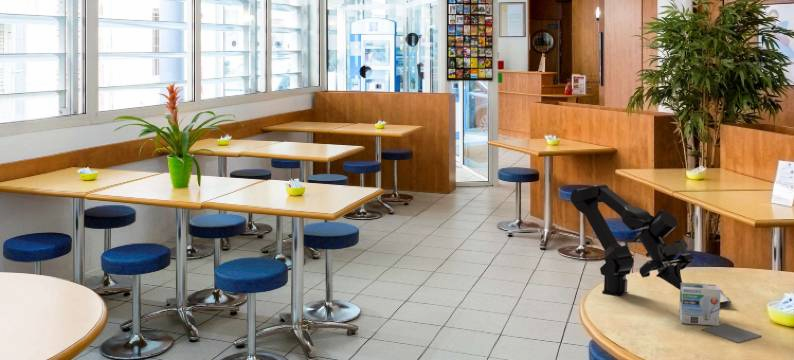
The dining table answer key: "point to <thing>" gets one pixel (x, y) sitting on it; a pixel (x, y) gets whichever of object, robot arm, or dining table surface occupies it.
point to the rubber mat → (731, 333)
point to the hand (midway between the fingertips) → (681, 289)
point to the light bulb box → (699, 303)
